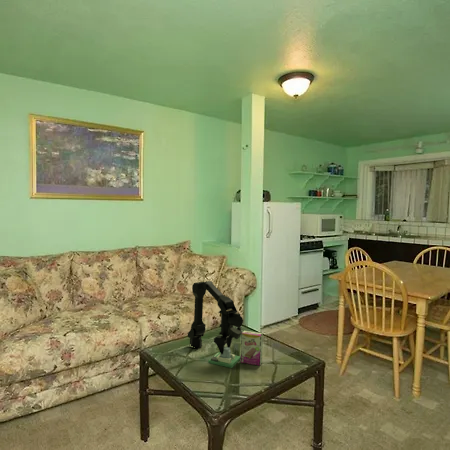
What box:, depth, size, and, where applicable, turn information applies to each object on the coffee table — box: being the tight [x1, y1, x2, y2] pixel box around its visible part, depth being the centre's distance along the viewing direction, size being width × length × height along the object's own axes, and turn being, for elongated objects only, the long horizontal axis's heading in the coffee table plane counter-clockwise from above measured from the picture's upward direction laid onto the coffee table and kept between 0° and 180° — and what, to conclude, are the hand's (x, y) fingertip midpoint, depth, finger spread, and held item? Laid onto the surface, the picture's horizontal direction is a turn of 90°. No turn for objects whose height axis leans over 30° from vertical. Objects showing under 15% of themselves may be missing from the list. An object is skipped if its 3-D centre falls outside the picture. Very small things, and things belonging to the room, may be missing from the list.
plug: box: [221, 346, 232, 359], centre depth 173 cm, size 5×4×6 cm
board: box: [207, 351, 241, 369], centre depth 174 cm, size 14×13×3 cm
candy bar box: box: [240, 330, 264, 367], centre depth 172 cm, size 11×5×16 cm, turn 71°
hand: (225, 351), depth 173 cm, fingers open, 9 cm apart
